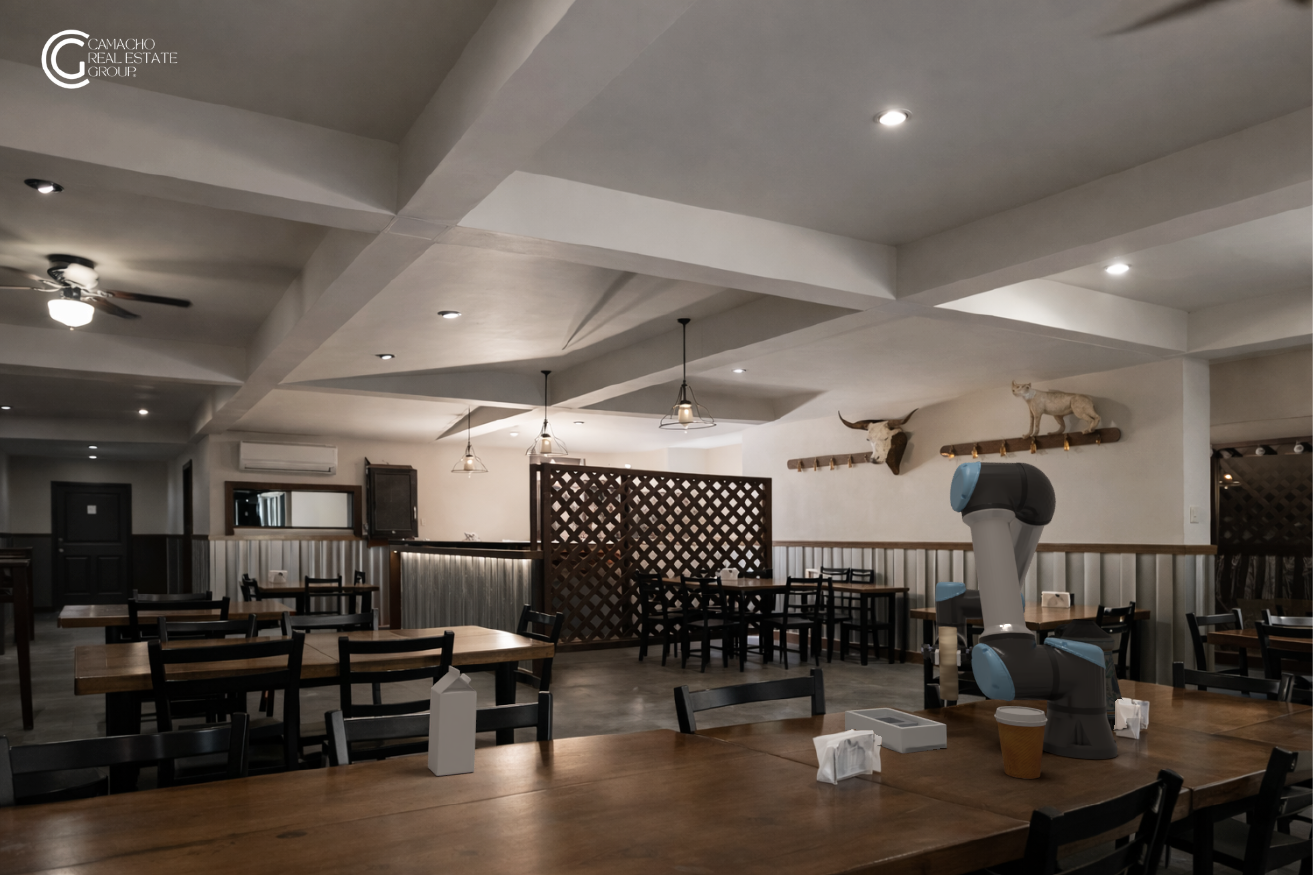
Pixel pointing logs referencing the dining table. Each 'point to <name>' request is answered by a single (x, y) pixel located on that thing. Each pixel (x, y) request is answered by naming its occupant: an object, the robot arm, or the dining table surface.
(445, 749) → the milk carton
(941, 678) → the dowel
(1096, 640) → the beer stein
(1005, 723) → the disposable coffee cup
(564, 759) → the dining table surface
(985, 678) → the robot arm
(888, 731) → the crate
